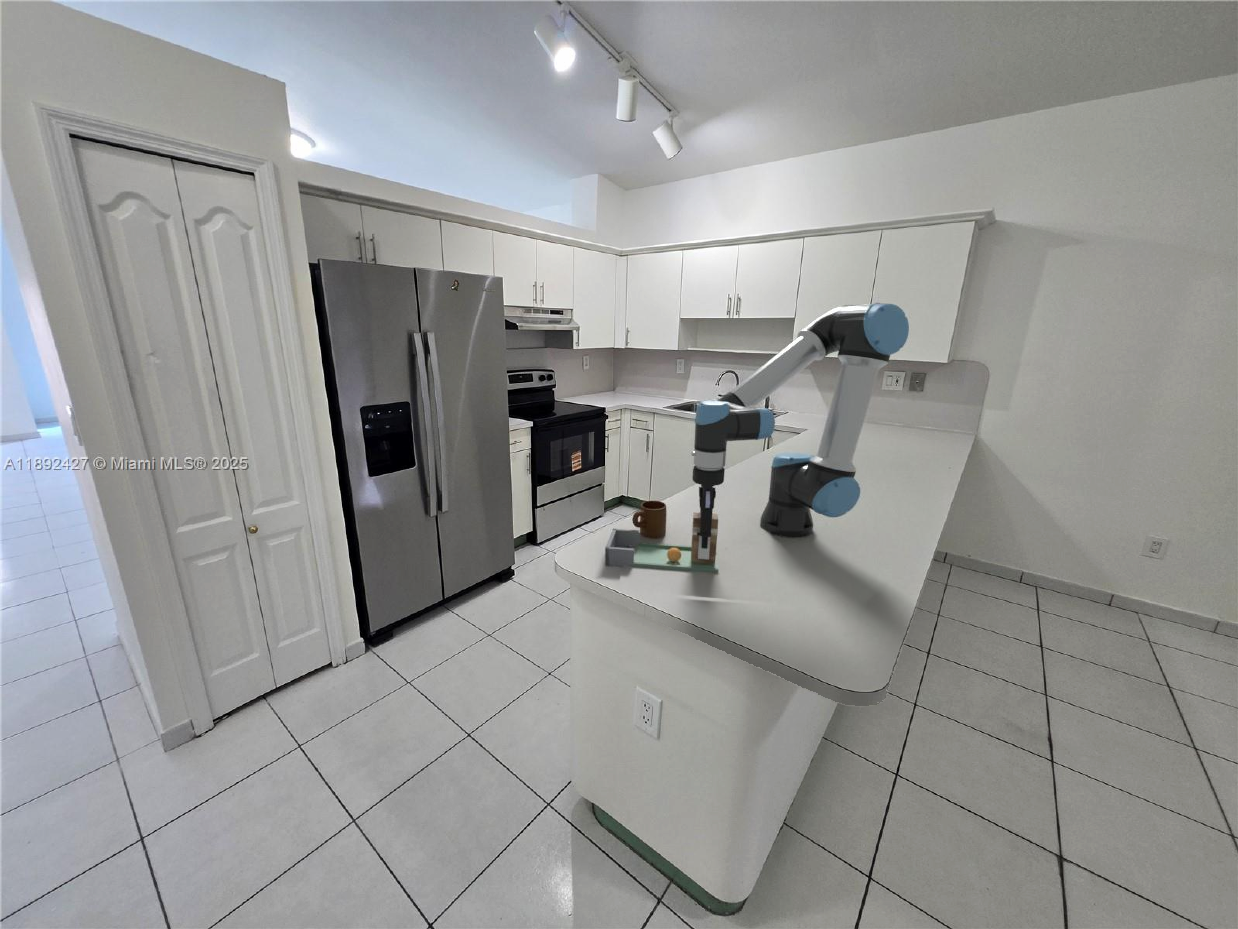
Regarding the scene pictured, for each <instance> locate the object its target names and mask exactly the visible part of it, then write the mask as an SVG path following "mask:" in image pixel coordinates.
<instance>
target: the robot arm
mask: <svg viewBox="0 0 1238 929" xmlns="http://www.w3.org/2000/svg"><path fill="white" fill-rule="evenodd" d="M909 324H910V323H909V320H908V317H907V316H906V313H905V311H904V310H903V309H902V308H901V307H899V305H897V304H894V303H884V302H883V303H881V302H874V303H865V304H847V305H845V304H844V305H841V306H837V307H835V308H832V309H831V310H829V311H827V312H826V313H824V314H822V315H821V316H819V317H818V318H816V319H815V320H813V321H812V322H810V323H809V324H807V326H805V327H803V329H801V330H800V331H798V333H797V336H796V339H795V340H793V341H792V342H790V344H788V345H787V346H786V347H785V348H783V349H782V350H780V351H779V352H777V354H775V355H774V356H773V357H772V358H771V359H769V360H768V361H766V363H764V364H763V365H762V366H760V367H759V368H758V369H756V370H755V371H754V372H752V373H751V374H750V375H749V376H748V377H746V378H745V379H743V380H742V382H740V383H738V385H736V386H734V388H732V389H731V390H729V391H728V392H727V393H726V394H724V395H723V396H722V397H720V398H712V399H709V400H704V401H700V402H699V403H698V404H697V406H696V412H695V420H694V424H695V425H694V446H693V447H694V449H693V451H692V452H691V453H690V454H691V456H693V465H694V466H693V467H692V481H693V482H694V483H695V484H697V485H700V486H699V487H698V498H699V500H698V501H699V502H698V503H699V509H700V510H699V513H701V526H700V533H698V532H697V535H698V536H699V547H698V559H709V550H710V537H711V525H712V514H713V509H714V507H715V499H716V496H717V495H716V493H717V492H716V486H719V485H722V484H723V483H724V480H725V470H726V469H725V468H724V467H725V466H726V458H727V444H728V442H736V441H737V442H739V441H753V440H755V441H758V440H764V439H768V438H769V437H771V436H772V435H773V433H774V431H775V426H776V419H775V416H774V414H773V412H772V411H771V410H770V409H769V408H765V407H764V408H763V407H757V406H758V405H759V404H761V403H762V402H764V401H765V400H766V399H768V398H769V397H770V396H771V395H772V394H773V393H775V392H776V391H777V390H778V389H780V388H781V387H783V385H785V384H786V383H787V382H789V381H790V380H792V379H793V378H794V377H795V376H796V375H797V374H799V373H800V372H802V371H803V370H804V369H805V368H806V367H808V366H809V365H810V364H812V363H813V362H814V361H822V360H823V359H824V358H825V357H826V356H828V355H830V354H833V353H836V352H837V358H838V359H839V361H840V363H841V366H840V370H839V373H838V377H837V381H836V384H835V387H834V392H833V395H832V399H831V403H830V406H829V411H828V413H827V417H826V420H825V424H824V427H823V431H822V432H823V433H822V436H821V439H820V443H819V446H818V450H817V453H816V455H814V454H811V453H804V452H803V453H801V452H797V453H796V452H787V453H786V452H785V453H779V454H777V455H775V456H774V457H772V458H773V459H772V463H771V467H770V471H771V472H770V481H769V491H768V492H769V493H768V494H769V495H768V501H767V502H766V506H765V508H764V510H763V512H762V514H761V517H760V522H759V524H760V525H759V526H760V527H761V528H762V529H763V530H766V531H768V532H770V534H772V535H775V536H779V537H783V538H791V539H792V538H793V539H794V538H795V539H796V538H799V539H800V538H804V537H805V538H806V537H808V536H810V535H811V534H812V533H813V530H814V520H813V516H812V512H811V510H812V511H814V512H815V513H817V514H819V515H821V516H824V517H827V518H839V517H842V516H844V515H846V514H847V513H849V512H850V511H852V509H854V507H855V506H856V505H857V503H858V501H859V499H860V497H861V486H860V484H859V482H858V481H857V480H856V479H855V476H856V473H857V468H856V466H855V465H854V463H853V461H854V460H853V459H854V455H855V453H856V450H857V446H858V442H859V439H860V436H861V433H862V428H863V426H864V422H865V419H866V416H867V411H868V408H869V405H870V401H871V399H872V398H871V397H872V395H873V391H874V388H875V384H876V381H877V377H878V374H879V371H880V369H882V368H884V367H885V366H886V365H888V364H889V361H890V358H891V355H894V354H896V353H898V352H899V351H901V348H903V347H904V345H906V342H907V340H908V338H909V331H910V325H909Z"/></svg>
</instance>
